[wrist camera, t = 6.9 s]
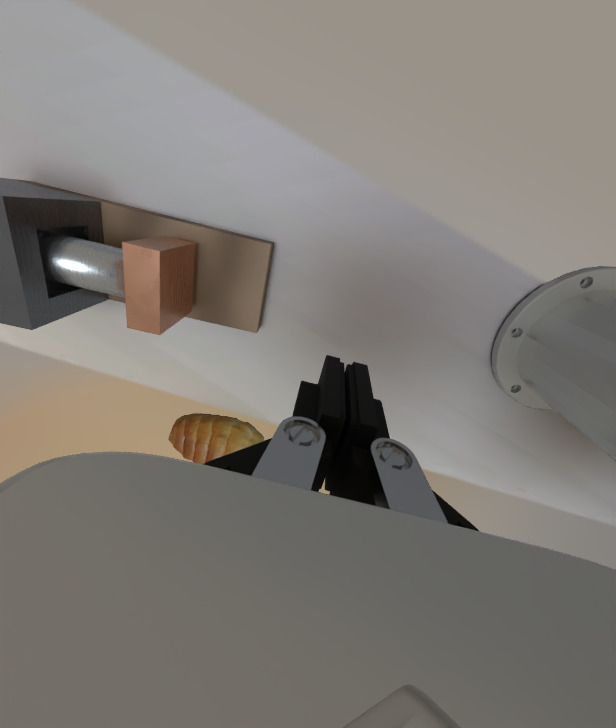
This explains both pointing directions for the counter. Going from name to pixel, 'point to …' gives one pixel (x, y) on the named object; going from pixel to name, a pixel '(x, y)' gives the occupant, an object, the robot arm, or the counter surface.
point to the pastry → (211, 436)
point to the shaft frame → (112, 227)
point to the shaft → (127, 274)
